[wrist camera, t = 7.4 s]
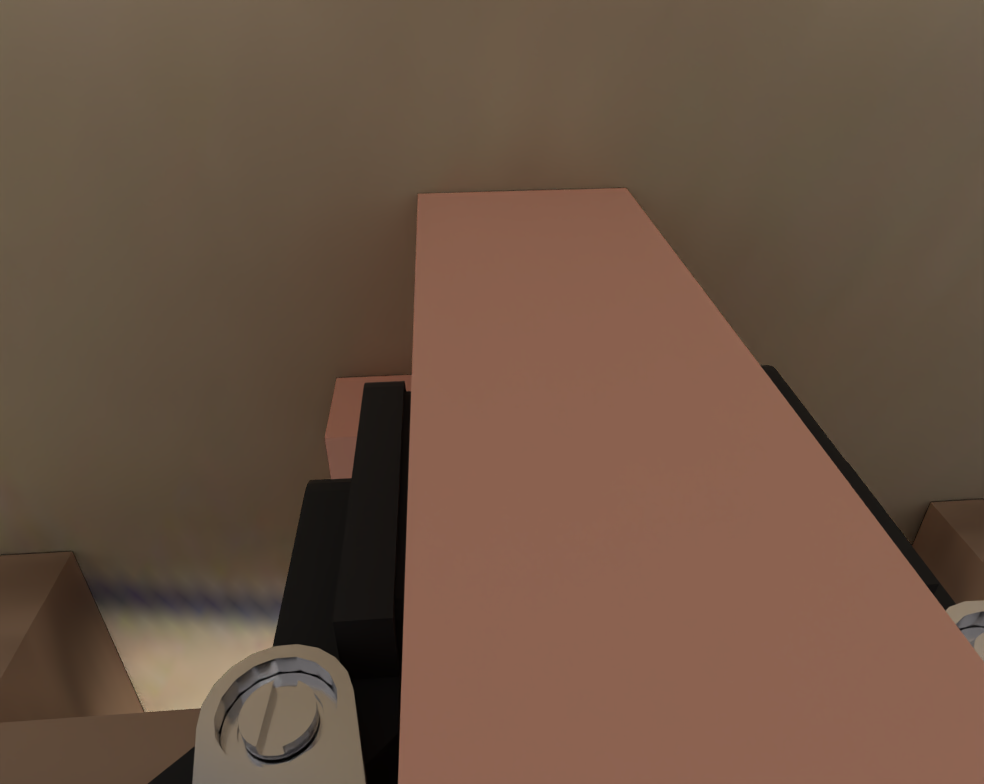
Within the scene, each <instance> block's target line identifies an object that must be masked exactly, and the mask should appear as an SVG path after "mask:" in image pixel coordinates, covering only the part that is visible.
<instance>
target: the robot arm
mask: <svg viewBox="0 0 984 784" xmlns="http://www.w3.org/2000/svg"><path fill="white" fill-rule="evenodd" d="M761 367H762V368H763V370H764V371H765V372H766V374H767V375H768V376H769V378H770V379H771V380H772V382H773V383H774V384H775V386H776V387H777V388H778V390H779V391H780V392H781V394H782V395H783V396H784V398H785V399H786V400H787V402H788V403H789V404H790V406H791V407H792V408H793V409H794V411H795V412H796V413H797V415H798V416H799V417H800V419H801V420H802V421H803V423H804V424H805V425H806V427H807V428H808V429H809V431H810V432H811V433H812V435H813V436H814V437H815V439H816V440H817V441H818V443H819V444H820V445H821V447H822V448H823V449H824V451H825V452H826V453H827V455H828V456H829V457H830V459H831V460H832V461H833V463H834V464H835V465H836V466H837V468H838V469H839V470H840V472H841V473H842V474H843V476H844V477H845V478H846V480H847V481H848V482H849V484H850V485H851V486H852V488H853V489H854V490H855V492H856V493H857V494H858V496H859V497H860V498H861V500H862V501H863V502H864V504H865V505H866V506H867V508H868V509H869V510H870V512H871V513H872V514H873V516H874V517H875V518H876V520H877V521H878V522H879V523H880V525H881V526H882V527H883V529H884V530H885V531H886V533H887V534H888V535H889V537H890V538H891V539H892V541H893V542H894V543H895V545H896V546H897V547H898V549H899V550H900V551H901V553H902V554H903V555H904V557H905V558H906V559H907V561H908V562H909V563H910V565H911V566H912V567H913V569H914V570H915V571H916V573H917V574H918V575H919V577H920V578H921V579H922V580H923V582H924V583H925V584H926V586H927V587H928V588H929V590H930V591H931V592H932V594H933V595H934V596H935V598H936V599H937V600H938V602H939V603H940V604H941V606H942V607H943V608H944V610H945V611H946V612H947V614H948V615H949V616H950V618H951V619H952V620H953V622H954V623H955V624H956V626H957V627H958V628H959V630H960V631H961V632H962V634H963V635H964V636H965V637H966V639H967V640H968V641H969V643H970V644H971V645H972V647H973V648H974V649H975V651H976V652H977V653H978V655H979V656H980V657H981V659H982V660H983V661H984V601H964V602H961V603H959V604H956V603H955V602H954V600H953V599H952V598H951V597H950V595H949V594H948V593H947V591H946V590H945V589H944V587H943V586H942V585H941V583H940V582H939V581H938V580H937V578H936V577H935V576H934V574H933V573H932V572H931V570H930V569H929V568H928V566H927V565H926V564H925V563H924V561H923V560H922V559H921V557H920V556H919V555H918V553H917V552H916V551H915V549H914V548H913V547H912V546H911V544H910V543H909V542H908V540H907V539H906V538H905V536H904V535H903V534H902V532H901V531H900V530H899V528H898V527H897V526H896V525H895V523H894V522H893V521H892V519H891V518H890V517H889V515H888V514H887V513H886V511H885V510H884V509H883V508H882V506H881V505H880V504H879V502H878V501H877V500H876V498H875V497H874V496H873V494H872V493H871V492H870V491H869V489H868V488H867V487H866V485H865V484H864V483H863V481H862V480H861V479H860V477H859V476H858V475H857V474H856V472H855V471H854V470H853V468H852V467H851V466H850V464H849V463H848V462H847V461H846V460H845V459H844V458H843V457H842V455H841V454H840V453H839V451H838V450H837V449H836V448H835V446H834V445H833V444H832V442H831V441H830V440H829V438H828V437H827V436H826V434H825V433H824V432H823V430H822V429H821V428H820V427H819V425H818V424H817V423H816V421H815V420H814V419H813V417H812V416H811V415H810V413H809V412H808V411H807V409H806V408H805V407H804V406H803V404H802V403H801V402H800V400H799V399H798V398H797V396H796V395H795V394H794V392H793V391H792V390H791V388H790V387H789V386H788V385H787V383H786V382H785V381H784V379H783V378H782V377H781V375H780V374H779V373H778V371H777V370H776V369H775V368H774V367H773V366H769V365H764V366H761ZM410 412H411V391H406V385H405V381H391V382H368V383H364V388H363V395H362V403H361V410H360V418H359V425H358V433H357V441H356V448H355V456H354V463H353V471H352V478H344V479H324V480H310V481H309V483H308V484H307V487H306V491H305V495H304V500H303V504H302V509H301V514H300V519H299V523H298V528H297V533H296V538H295V543H294V547H293V552H292V557H291V562H290V566H289V571H288V576H287V581H286V586H285V590H284V595H283V600H282V605H281V610H280V614H279V619H278V624H277V629H276V633H275V638H274V643H273V647H271V648H268V649H265V650H263V651H260V652H257V653H254V654H252V655H250V656H248V657H247V658H245V659H244V660H242V661H240V662H239V663H237V664H236V665H234V666H232V667H231V668H230V669H229V670H228V671H227V672H226V673H225V674H224V675H223V676H222V677H221V678H220V679H219V680H218V681H217V682H216V683H215V684H214V685H213V687H212V689H211V691H210V692H209V694H208V696H207V697H206V699H205V701H204V702H203V704H202V706H201V710H200V715H199V719H198V723H197V727H196V739H195V746H194V747H193V748H192V749H190V750H189V751H188V752H187V753H185V754H184V755H183V756H182V757H180V758H179V759H178V760H177V761H175V762H174V763H173V764H172V765H170V766H169V767H168V768H167V769H165V770H164V771H163V772H162V773H160V774H159V775H158V776H157V777H155V778H154V779H153V780H152V781H150V782H149V783H148V784H398V770H399V740H400V710H401V680H402V651H403V621H404V591H405V561H406V531H407V502H408V472H409V442H410Z"/></svg>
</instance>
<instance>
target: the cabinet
mask: <svg viewBox="0 0 984 784" xmlns="http://www.w3.org/2000/svg"><path fill="white" fill-rule="evenodd" d="M912 547H913V548H914V549H915V551H916V552H917V553H918V555H919V556H920V557H921V559H922V560H923V561H924V563H925V564H926V565H927V566H928V568H929V569H930V570H931V572H932V573H933V574H934V576H935V577H936V578H937V580H938V581H939V582H940V583H941V585H942V586H943V587H944V589H945V590H946V591H947V593H948V594H949V595H950V597H951V598H952V599H953V600H954V602H955V603H956V604H959V603H961V602H964V601H984V499H979V500H961V501H944V502H931V503H930V505H929V508H928V510H927V512H926V515H925V517H924V519H923V522H922V524H921V526H920V529H919V531H918V533H917V536H916V538H915V540H914V543H913V545H912ZM200 710H201V708H200V709H186V710H172V711H158V712H144V711H143V709H142V707H141V705H140V702H139V700H138V698H137V696H136V693H135V691H134V689H133V687H132V684H131V682H130V680H129V678H128V675H127V673H126V671H125V669H124V666H123V664H122V662H121V660H120V657H119V655H118V653H117V651H116V648H115V646H114V644H113V642H112V639H111V637H110V635H109V633H108V631H107V628H106V626H105V624H104V622H103V619H102V617H101V615H100V613H99V610H98V608H97V606H96V604H95V601H94V599H93V597H92V595H91V592H90V590H89V588H88V586H87V583H86V581H85V579H84V577H83V574H82V572H81V570H80V568H79V565H78V563H77V561H76V559H75V556H74V554H73V552H55V553H38V554H20V555H3V556H0V784H148V783H149V782H150V781H152V780H153V779H154V778H155V777H157V776H158V775H159V774H160V773H162V772H163V771H164V770H165V769H167V768H168V767H169V766H170V765H172V764H173V763H174V762H175V761H177V760H178V759H179V758H180V757H182V756H183V755H184V754H185V753H187V752H188V751H189V750H190V749H192V748H193V747H194V746H195V739H196V727H197V723H198V719H199V715H200Z"/></svg>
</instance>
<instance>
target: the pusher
mask: <svg viewBox="0 0 984 784" xmlns="http://www.w3.org/2000/svg"><path fill="white" fill-rule="evenodd" d="M391 381H405V385H406V391H411V412H410V442H409V472H408V502H407V531H406V561H405V591H404V621H403V651H402V680H401V710H400V740H399V770H398V784H984V661H983V660H982V659H981V657H980V656H979V655H978V653H977V652H976V651H975V649H974V648H973V647H972V645H971V644H970V643H969V641H968V640H967V639H966V637H965V636H964V635H963V634H962V632H961V631H960V630H959V628H958V627H957V626H956V624H955V623H954V622H953V620H952V619H951V618H950V616H949V615H948V614H947V612H946V611H945V610H944V608H943V607H942V606H941V604H940V603H939V602H938V600H937V599H936V598H935V596H934V595H933V594H932V592H931V591H930V590H929V588H928V587H927V586H926V584H925V583H924V582H923V580H922V579H921V578H920V577H919V575H918V574H917V573H916V571H915V570H914V569H913V567H912V566H911V565H910V563H909V562H908V561H907V559H906V558H905V557H904V555H903V554H902V553H901V551H900V550H899V549H898V547H897V546H896V545H895V543H894V542H893V541H892V539H891V538H890V537H889V535H888V534H887V533H886V531H885V530H884V529H883V527H882V526H881V525H880V523H879V522H878V521H877V520H876V518H875V517H874V516H873V514H872V513H871V512H870V510H869V509H868V508H867V506H866V505H865V504H864V502H863V501H862V500H861V498H860V497H859V496H858V494H857V493H856V492H855V490H854V489H853V488H852V486H851V485H850V484H849V482H848V481H847V480H846V478H845V477H844V476H843V474H842V473H841V472H840V470H839V469H838V468H837V466H836V465H835V464H834V463H833V461H832V460H831V459H830V457H829V456H828V455H827V453H826V452H825V451H824V449H823V448H822V447H821V445H820V444H819V443H818V441H817V440H816V439H815V437H814V436H813V435H812V433H811V432H810V431H809V429H808V428H807V427H806V425H805V424H804V423H803V421H802V420H801V419H800V417H799V416H798V415H797V413H796V412H795V411H794V409H793V408H792V407H791V406H790V404H789V403H788V402H787V400H786V399H785V398H784V396H783V395H782V394H781V392H780V391H779V390H778V388H777V387H776V386H775V384H774V383H773V382H772V380H771V379H770V378H769V376H768V375H767V374H766V372H765V371H764V370H763V368H762V367H761V366H760V364H759V363H758V362H757V360H756V359H755V358H754V356H753V355H752V354H751V352H750V351H749V350H748V349H747V347H746V346H745V345H744V343H743V342H742V341H741V339H740V338H739V337H738V335H737V334H736V333H735V331H734V330H733V329H732V327H731V326H730V325H729V323H728V322H727V321H726V319H725V318H724V317H723V315H722V314H721V313H720V311H719V310H718V309H717V307H716V306H715V305H714V303H713V302H712V301H711V299H710V298H709V297H708V295H707V294H706V293H705V292H704V290H703V289H702V288H701V286H700V285H699V284H698V282H697V281H696V280H695V278H694V277H693V276H692V274H691V273H690V272H689V270H688V269H687V268H686V266H685V265H684V264H683V262H682V261H681V260H680V258H679V257H678V256H677V254H676V253H675V252H674V250H673V249H672V248H671V246H670V245H669V244H668V242H667V241H666V240H665V238H664V237H663V236H662V235H661V233H660V232H659V231H658V229H657V228H656V227H655V225H654V224H653V223H652V221H651V220H650V219H649V217H648V216H647V215H646V213H645V212H644V211H643V209H642V208H641V207H640V205H639V204H638V203H637V201H636V200H635V199H634V197H633V196H632V195H631V193H630V192H629V191H628V189H627V188H605V189H569V190H532V191H496V192H459V193H423V194H418V204H417V233H416V263H415V293H414V323H413V353H412V375H395V376H371V377H348V378H336V383H335V388H334V393H333V398H332V403H331V408H330V413H329V418H328V423H327V428H326V433H325V444H326V450H327V457H328V463H329V469H330V475H331V479H344V478H352V471H353V463H354V456H355V448H356V441H357V433H358V425H359V418H360V410H361V403H362V395H363V388H364V383H368V382H391Z"/></svg>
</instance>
